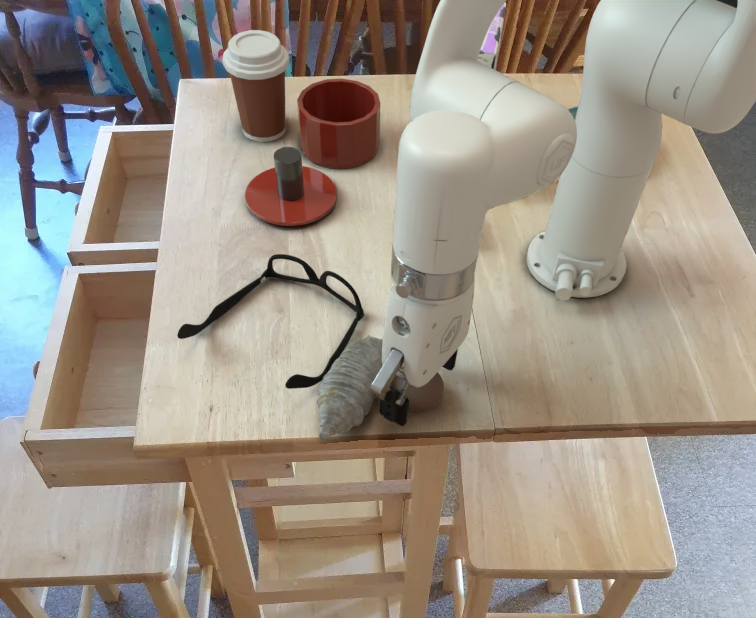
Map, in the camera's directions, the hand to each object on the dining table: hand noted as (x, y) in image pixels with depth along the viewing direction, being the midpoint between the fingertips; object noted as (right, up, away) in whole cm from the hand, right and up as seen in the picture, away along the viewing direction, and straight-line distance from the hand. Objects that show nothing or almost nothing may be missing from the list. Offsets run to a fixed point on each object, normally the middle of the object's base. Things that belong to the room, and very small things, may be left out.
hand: (417, 390), depth 78 cm
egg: (0, -1, +2) cm, 2 cm away
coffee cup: (-21, +43, +28) cm, 56 cm away
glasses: (-16, +10, +2) cm, 19 cm away
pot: (-10, +40, +26) cm, 49 cm away
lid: (-16, +30, +19) cm, 39 cm away
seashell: (-10, +1, -5) cm, 11 cm away
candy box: (+8, +40, +27) cm, 49 cm away
